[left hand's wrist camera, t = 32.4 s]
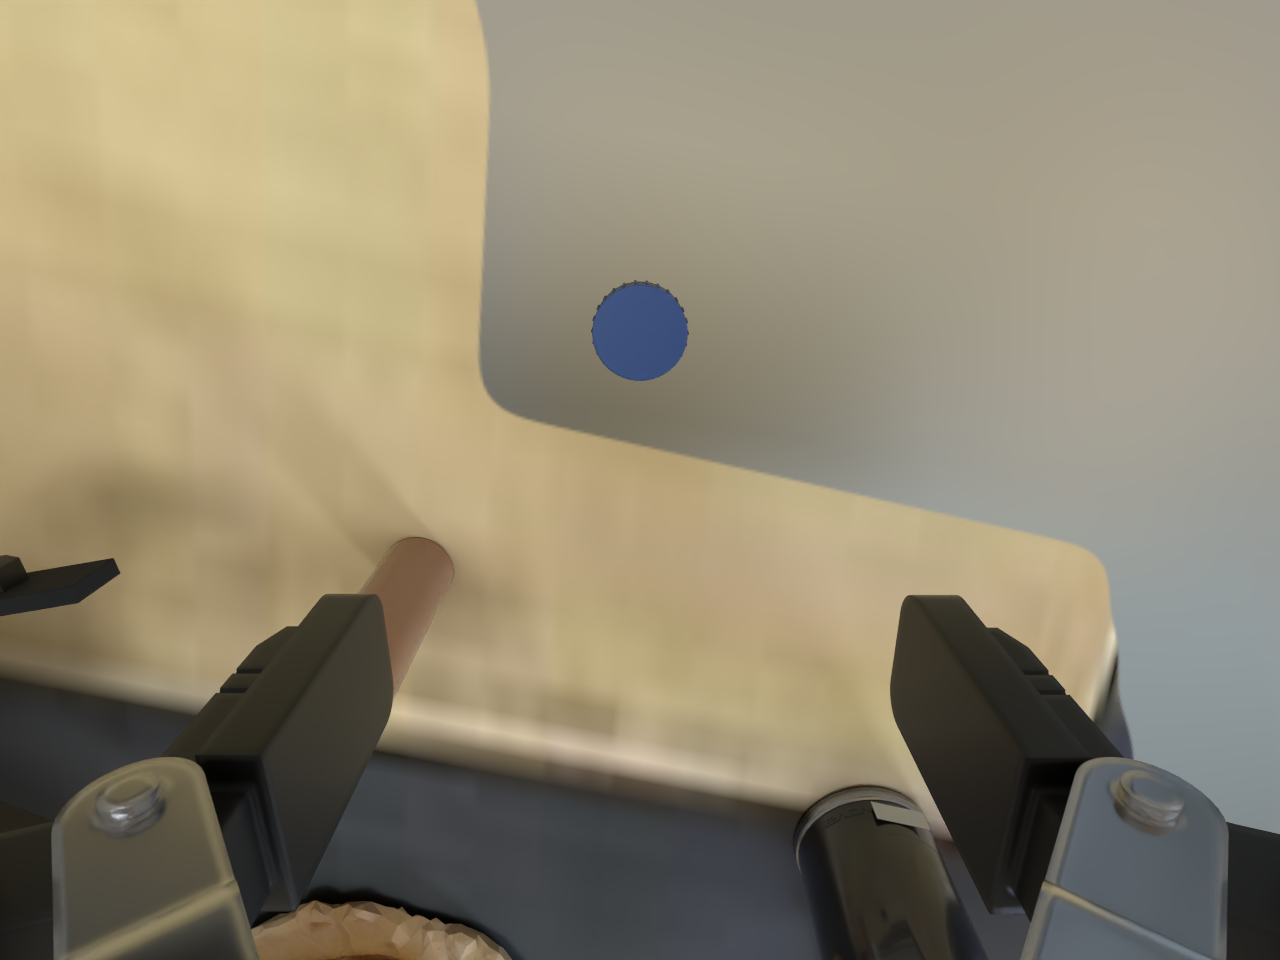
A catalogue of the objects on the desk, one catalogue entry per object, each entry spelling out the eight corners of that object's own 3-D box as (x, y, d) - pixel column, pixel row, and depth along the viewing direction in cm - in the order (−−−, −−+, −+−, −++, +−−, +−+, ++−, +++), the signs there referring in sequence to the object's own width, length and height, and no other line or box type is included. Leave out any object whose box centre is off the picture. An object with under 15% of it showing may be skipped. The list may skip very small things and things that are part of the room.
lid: (574, 339, 40) (571, 345, 38) (629, 260, 38) (628, 262, 37) (650, 392, 41) (650, 400, 39) (706, 317, 39) (709, 322, 38)
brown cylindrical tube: (456, 599, 45) (339, 854, 28) (388, 598, 45) (227, 854, 28) (451, 537, 44) (323, 765, 26) (380, 536, 44) (204, 764, 26)
